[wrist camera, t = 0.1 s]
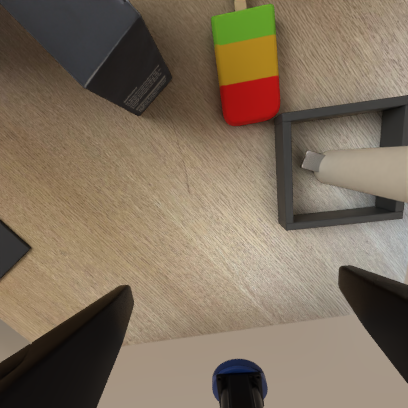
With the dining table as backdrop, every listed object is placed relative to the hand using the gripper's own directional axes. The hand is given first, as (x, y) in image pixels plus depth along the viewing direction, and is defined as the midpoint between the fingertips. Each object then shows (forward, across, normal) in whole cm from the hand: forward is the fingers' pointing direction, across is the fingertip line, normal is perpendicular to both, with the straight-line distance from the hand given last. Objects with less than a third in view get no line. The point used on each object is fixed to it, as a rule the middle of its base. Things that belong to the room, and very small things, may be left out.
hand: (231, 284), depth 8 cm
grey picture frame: (+15, -12, -3) cm, 19 cm away
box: (+15, +8, -16) cm, 23 cm away
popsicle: (+15, -4, -16) cm, 22 cm away
